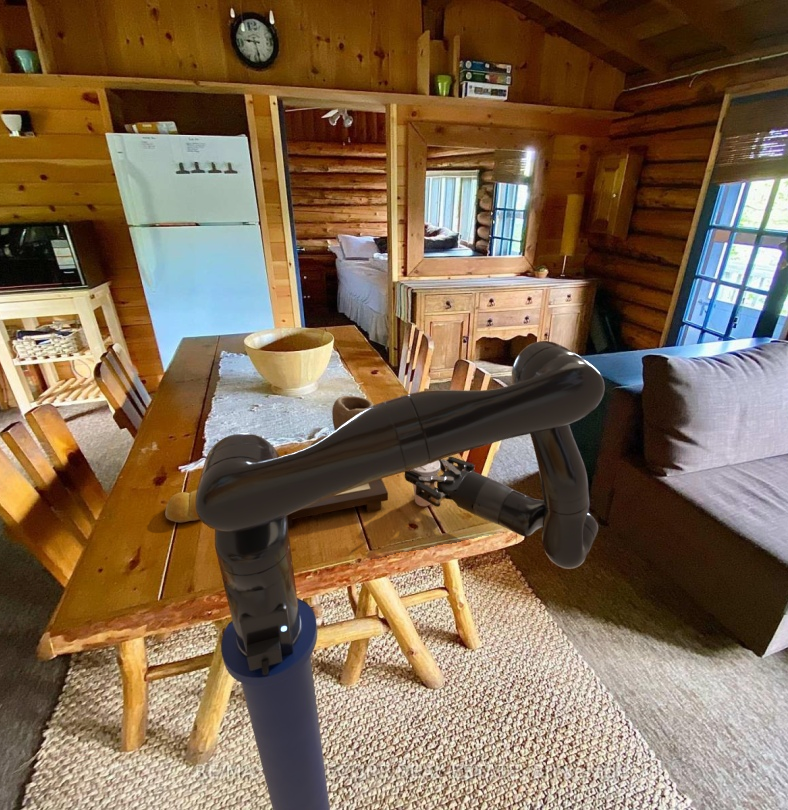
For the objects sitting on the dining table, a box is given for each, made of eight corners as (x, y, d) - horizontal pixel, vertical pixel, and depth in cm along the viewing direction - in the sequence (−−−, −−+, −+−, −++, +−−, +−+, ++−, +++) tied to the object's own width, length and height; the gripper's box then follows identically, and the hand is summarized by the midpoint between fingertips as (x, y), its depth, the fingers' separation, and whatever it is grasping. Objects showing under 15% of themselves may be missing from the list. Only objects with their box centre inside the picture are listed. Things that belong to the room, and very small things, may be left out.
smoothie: (409, 510, 92) (410, 454, 86) (408, 491, 98) (409, 437, 92) (439, 510, 92) (443, 454, 86) (437, 491, 98) (440, 437, 92)
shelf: (388, 507, 93) (388, 492, 91) (269, 531, 86) (266, 515, 84) (373, 475, 103) (373, 460, 101) (266, 494, 96) (264, 478, 94)
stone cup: (385, 451, 112) (385, 399, 105) (356, 474, 103) (354, 418, 96) (339, 434, 119) (336, 384, 112) (308, 455, 110) (303, 401, 103)
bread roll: (214, 519, 89) (211, 503, 87) (165, 528, 86) (160, 512, 84) (216, 494, 95) (213, 479, 94) (171, 501, 93) (166, 486, 91)
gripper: (505, 464, 87) (435, 437, 96) (468, 501, 77) (394, 466, 86) (500, 495, 91) (434, 465, 100) (464, 533, 80) (394, 497, 89)
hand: (416, 466), depth 93 cm, fingers closed on smoothie, 6 cm apart
